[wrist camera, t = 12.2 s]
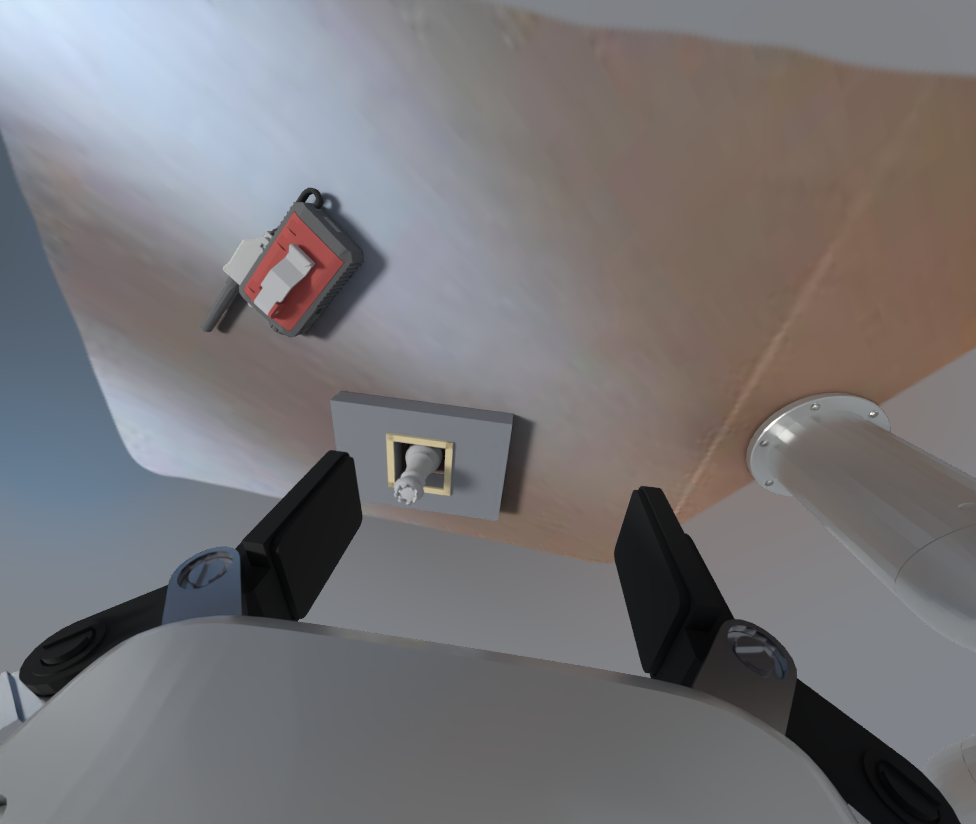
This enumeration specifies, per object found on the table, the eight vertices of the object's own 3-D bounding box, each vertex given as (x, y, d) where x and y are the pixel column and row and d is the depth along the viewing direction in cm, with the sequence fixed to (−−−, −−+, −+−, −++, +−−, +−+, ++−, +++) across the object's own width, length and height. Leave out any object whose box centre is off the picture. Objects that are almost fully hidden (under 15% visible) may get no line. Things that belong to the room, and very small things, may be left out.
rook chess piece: (451, 455, 42) (436, 500, 35) (425, 472, 44) (406, 518, 37) (426, 430, 41) (405, 471, 34) (400, 448, 42) (375, 491, 35)
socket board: (513, 413, 39) (512, 425, 36) (499, 507, 45) (497, 522, 43) (341, 391, 40) (328, 401, 37) (351, 485, 46) (341, 499, 44)
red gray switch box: (302, 167, 30) (206, 320, 38) (268, 156, 26) (168, 329, 34) (378, 248, 33) (273, 377, 40) (357, 249, 29) (246, 391, 36)
